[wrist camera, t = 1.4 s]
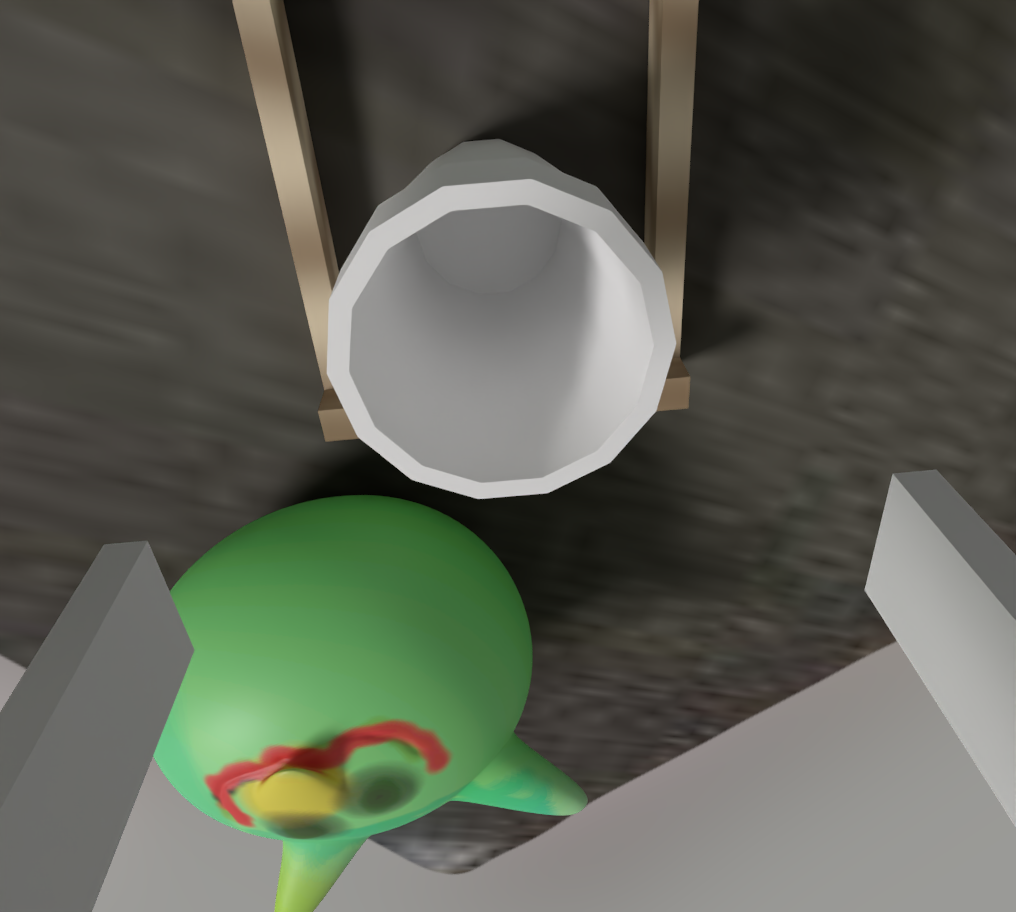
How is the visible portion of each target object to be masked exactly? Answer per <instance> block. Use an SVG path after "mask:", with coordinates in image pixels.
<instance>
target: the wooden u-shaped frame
mask: <svg viewBox="0 0 1016 912" xmlns="http://www.w3.org/2000/svg"><path fill="white" fill-rule="evenodd" d="M232 2H233V6H234V10H235V14H236V18H237V23H238V27H239V31H240V35H241V40H242V44H243V48H244V52H245V56H246V61H247V65H248V69H249V73H250V78H251V82H252V86H253V90H254V94H255V99H256V103H257V107H258V111H259V116H260V120H261V124H262V128H263V132H264V137H265V141H266V145H267V149H268V154H269V158H270V162H271V166H272V170H273V175H274V179H275V183H276V187H277V192H278V196H279V200H280V204H281V208H282V213H283V217H284V221H285V225H286V230H287V234H288V238H289V242H290V246H291V251H292V255H293V259H294V263H295V268H296V272H297V276H298V280H299V284H300V289H301V293H302V297H303V301H304V306H305V310H306V314H307V318H308V322H309V327H310V331H311V335H312V339H313V343H314V348H315V352H316V356H317V360H318V365H319V369H320V373H321V377H322V381H323V386H324V393H323V397H322V400H321V403H320V406H319V409H318V413H319V417H320V421H321V425H322V429H323V433H324V437H325V441H326V442H327V441H337V440H348V439H359V437H357V435H356V432H355V430H354V428H353V426H352V424H351V422H350V420H349V418H348V416H347V414H346V412H345V410H344V408H343V406H342V404H341V402H340V400H339V398H338V396H337V394H336V392H335V390H334V388H333V386H332V384H331V382H330V380H329V378H328V375H327V345H328V311H329V298H330V296H331V293H332V291H333V288H334V286H335V283H336V280H337V278H338V275H339V270H338V265H337V260H336V255H335V250H334V245H333V240H332V235H331V231H330V226H329V221H328V216H327V211H326V206H325V201H324V197H323V192H322V187H321V182H320V177H319V172H318V167H317V162H316V158H315V153H314V148H313V143H312V138H311V133H310V128H309V123H308V119H307V114H306V109H305V104H304V99H303V94H302V89H301V84H300V80H299V75H298V70H297V65H296V60H295V55H294V50H293V45H292V41H291V36H290V31H289V26H288V21H287V16H286V11H285V6H284V2H283V0H232ZM698 2H699V0H650V4H649V50H648V95H647V140H646V185H645V231H644V244H645V245H646V247H647V248H648V250H649V252H650V253H651V255H652V256H653V258H654V260H655V261H656V263H657V264H658V266H659V267H660V269H661V271H662V273H663V278H664V283H665V289H666V294H667V299H668V304H669V309H670V314H671V319H672V324H673V329H674V334H675V339H676V347H675V350H674V353H673V357H672V360H671V363H670V367H669V370H668V373H667V377H666V380H665V384H664V387H663V390H662V394H661V397H660V400H659V404H658V407H657V410H656V411H664V410H675V409H686V408H688V405H689V389H690V375H689V374H688V372H687V370H686V368H685V366H684V364H683V362H682V361H681V359H680V345H681V326H682V307H683V288H684V269H685V250H686V231H687V212H688V193H689V174H690V155H691V135H692V116H693V97H694V78H695V59H696V40H697V21H698Z"/></svg>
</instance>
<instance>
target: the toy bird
mask: <svg viewBox="0 0 1016 912" xmlns="http://www.w3.org/2000/svg"><path fill="white" fill-rule="evenodd" d="M170 594H171V596H172V599H173V601H174V603H175V606H176V608H177V610H178V613H179V615H180V617H181V620H182V622H183V624H184V627H185V629H186V631H187V634H188V636H189V638H190V641H191V643H192V645H193V648H194V653H193V655H192V658H191V661H190V663H189V666H188V668H187V671H186V673H185V676H184V678H183V681H182V683H181V686H180V689H179V691H178V694H177V696H176V699H175V701H174V704H173V706H172V709H171V711H170V714H169V717H168V719H167V722H166V724H165V727H164V729H163V732H162V734H161V737H160V739H159V742H158V744H157V747H156V750H155V752H154V755H153V757H154V759H155V760H156V762H157V764H158V766H159V767H160V768H161V770H162V772H163V773H164V775H165V776H166V777H167V779H168V780H169V781H170V783H171V784H172V785H173V786H174V787H175V788H176V789H177V790H178V792H179V793H180V794H182V796H183V797H184V798H186V799H187V800H188V801H189V802H190V803H191V804H193V805H194V806H195V807H196V808H198V809H199V810H200V811H202V812H203V813H205V814H206V815H208V816H210V817H212V818H213V819H215V820H217V821H219V822H221V823H223V824H225V825H227V826H230V827H232V828H235V829H237V830H240V831H243V832H246V833H250V834H253V835H257V836H261V837H266V838H271V839H277V840H283V855H282V862H281V869H280V875H279V881H278V888H277V894H276V902H275V912H313V911H314V910H315V909H316V907H317V906H318V905H319V903H320V902H321V901H322V900H323V898H324V897H325V895H326V894H327V893H328V891H329V890H330V889H331V887H332V886H333V885H334V883H335V882H336V880H337V879H338V878H339V876H340V875H341V873H342V872H343V870H344V869H345V868H346V866H347V865H348V863H349V862H350V861H351V859H352V858H353V857H354V855H355V854H356V852H357V851H358V850H359V848H360V847H361V845H362V844H363V843H364V842H365V841H366V839H367V838H368V837H369V836H370V835H373V834H377V833H380V832H384V831H387V830H390V829H393V828H396V827H399V826H401V825H404V824H406V823H409V822H411V821H413V820H416V819H418V818H420V817H422V816H424V815H426V814H428V813H429V812H431V811H433V810H435V809H437V808H438V807H440V806H441V805H443V804H445V803H446V802H448V801H465V802H472V803H479V804H484V805H490V806H496V807H501V808H507V809H513V810H519V811H525V812H531V813H538V814H547V815H572V814H576V813H578V812H580V811H581V810H583V809H584V808H585V806H586V805H587V801H588V800H587V796H586V794H585V793H584V791H583V790H582V789H581V788H580V787H579V786H578V785H577V784H576V783H575V782H574V781H573V780H572V779H571V778H570V777H568V776H567V775H566V774H565V773H563V772H562V771H561V770H560V769H558V768H557V767H556V766H554V765H553V764H552V763H550V762H549V761H548V760H546V759H545V758H543V757H542V756H541V755H539V754H538V753H537V752H535V751H534V750H533V749H531V748H530V747H529V746H528V745H526V744H525V743H524V742H523V741H522V740H520V739H519V738H518V737H517V736H516V735H515V733H514V729H515V727H516V725H517V723H518V721H519V719H520V716H521V714H522V711H523V708H524V705H525V702H526V699H527V695H528V691H529V686H530V681H531V673H532V639H531V632H530V627H529V622H528V618H527V614H526V611H525V608H524V605H523V602H522V599H521V597H520V594H519V592H518V590H517V588H516V586H515V584H514V582H513V580H512V578H511V576H510V575H509V573H508V571H507V570H506V568H505V567H504V565H503V564H502V562H501V561H500V560H499V558H498V557H497V556H496V555H495V553H494V552H493V551H492V550H491V549H490V548H489V547H488V546H487V545H486V544H485V543H484V542H483V541H482V540H481V539H480V538H479V537H478V536H477V535H475V534H474V533H473V532H472V531H470V530H469V529H468V528H466V527H465V526H464V525H462V524H461V523H459V522H457V521H456V520H454V519H452V518H451V517H449V516H447V515H445V514H443V513H441V512H439V511H437V510H434V509H432V508H430V507H427V506H424V505H421V504H418V503H415V502H412V501H408V500H404V499H399V498H393V497H387V496H376V495H347V496H336V497H328V498H322V499H316V500H311V501H307V502H303V503H299V504H296V505H292V506H289V507H286V508H283V509H280V510H277V511H275V512H272V513H270V514H268V515H265V516H263V517H261V518H259V519H257V520H255V521H253V522H251V523H249V524H247V525H245V526H244V527H242V528H240V529H238V530H237V531H235V532H234V533H232V534H231V535H229V536H228V537H226V538H225V539H223V540H222V541H220V542H219V543H218V544H216V545H215V546H214V547H213V548H211V549H210V550H209V551H208V552H206V553H205V554H204V555H203V556H202V557H201V558H200V559H199V560H197V561H196V562H195V563H194V564H193V565H192V566H191V567H190V568H189V569H188V570H187V572H186V573H185V574H184V575H183V576H182V577H181V578H180V579H179V581H178V582H177V583H176V584H175V585H174V587H173V588H172V589H171V591H170Z"/></svg>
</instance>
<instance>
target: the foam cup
mask: <svg viewBox="0 0 1016 912" xmlns="http://www.w3.org/2000/svg"><path fill="white" fill-rule="evenodd" d="M675 347H676V339H675V334H674V329H673V324H672V319H671V314H670V309H669V304H668V299H667V294H666V289H665V283H664V278H663V273H662V271H661V269H660V267H659V266H658V264H657V263H656V261H655V260H654V258H653V256H652V255H651V253H650V252H649V250H648V248H647V247H646V245H645V244H644V242H643V241H642V240H641V239H640V238H639V236H638V235H637V234H636V233H635V232H634V230H633V229H632V228H631V227H630V226H629V224H628V223H627V222H626V221H625V220H624V218H623V217H622V216H621V215H620V214H619V212H618V211H617V210H616V209H615V208H614V206H613V205H612V204H611V203H610V202H609V200H608V199H607V198H606V197H605V196H604V194H603V193H602V192H601V191H600V190H599V188H598V187H597V186H594V185H592V184H589V183H587V182H584V181H582V180H580V179H577V178H575V177H572V176H570V175H567V174H565V173H563V172H561V171H560V170H558V169H557V168H555V167H554V166H552V165H551V164H550V163H548V162H547V161H545V160H544V159H542V158H541V157H539V156H538V155H536V154H535V153H533V152H530V151H528V150H525V149H523V148H521V147H518V146H516V145H513V144H511V143H508V142H506V141H504V140H501V139H491V140H479V141H468V142H462V143H461V144H459V145H458V146H456V147H454V148H453V149H451V150H450V151H448V152H446V153H445V154H443V155H442V156H440V157H439V158H437V159H435V160H434V161H433V162H431V163H430V164H429V165H428V166H427V167H426V168H425V169H424V170H423V171H422V172H421V173H420V174H419V175H418V176H417V177H416V178H415V179H414V180H413V181H412V182H411V183H410V184H409V185H408V186H407V187H406V188H405V189H404V190H402V191H400V192H399V193H397V194H395V195H394V196H392V197H391V198H389V199H387V200H386V201H384V202H383V203H381V204H379V205H378V206H377V208H376V210H375V211H374V213H373V215H372V217H371V218H370V220H369V222H368V223H367V225H366V227H365V229H364V230H363V232H362V234H361V235H360V237H359V239H358V241H357V242H356V244H355V246H354V247H353V249H352V251H351V253H350V254H349V256H348V258H347V259H346V261H345V263H344V265H343V266H342V268H341V270H340V273H339V275H338V278H337V280H336V283H335V286H334V288H333V291H332V293H331V296H330V298H329V311H328V345H327V375H328V378H329V380H330V382H331V384H332V386H333V388H334V390H335V392H336V394H337V396H338V398H339V400H340V402H341V404H342V406H343V408H344V410H345V412H346V414H347V416H348V418H349V420H350V422H351V424H352V426H353V428H354V430H355V432H356V435H357V437H359V438H360V439H361V440H362V441H364V442H365V443H366V444H367V445H369V446H370V447H371V448H372V449H374V450H375V451H376V452H377V453H379V454H380V455H381V456H382V457H384V458H385V459H386V460H387V461H389V462H390V463H391V464H392V465H394V466H395V467H396V468H397V469H399V470H400V471H401V472H402V473H404V474H405V475H406V476H407V477H409V478H410V479H411V480H414V481H417V482H420V483H424V484H427V485H431V486H434V487H438V488H441V489H445V490H448V491H452V492H455V493H459V494H462V495H466V496H469V497H473V498H476V499H486V498H498V497H509V496H521V495H532V494H544V493H549V492H551V491H553V490H555V489H557V488H559V487H561V486H563V485H566V484H568V483H570V482H572V481H574V480H576V479H578V478H580V477H582V476H584V475H586V474H588V473H590V472H592V471H594V470H596V469H598V468H601V467H603V466H605V465H607V464H609V463H610V462H611V461H612V460H613V459H614V458H615V457H616V456H617V455H618V453H619V452H620V451H621V450H622V449H623V448H624V447H625V446H626V444H627V443H628V442H629V441H630V440H631V439H632V438H633V437H634V435H635V434H636V433H637V432H638V431H639V430H640V429H641V428H642V426H643V425H644V424H645V423H646V422H647V421H648V420H649V419H650V417H651V416H652V415H653V414H654V413H655V412H656V410H657V407H658V404H659V400H660V397H661V394H662V390H663V387H664V384H665V380H666V377H667V373H668V370H669V367H670V363H671V360H672V357H673V353H674V350H675Z"/></svg>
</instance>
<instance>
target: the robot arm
mask: <svg viewBox="0 0 1016 912" xmlns="http://www.w3.org/2000/svg"><path fill="white" fill-rule="evenodd" d="M865 591H866V593H867V594H868V596H869V598H870V599H871V601H872V602H873V604H874V605H875V607H876V609H877V610H878V612H879V613H880V615H881V616H882V618H883V620H884V621H885V623H886V624H887V626H888V627H889V629H890V631H891V632H892V634H893V635H894V637H895V638H896V640H897V642H898V643H899V645H900V646H901V648H902V649H903V651H904V652H905V654H906V655H907V657H908V659H909V660H910V662H911V663H912V665H913V666H914V668H915V670H916V671H917V673H918V674H919V676H920V678H921V679H922V681H923V682H924V684H925V685H926V687H927V689H928V690H929V692H930V693H931V695H932V696H933V698H934V700H935V701H936V703H937V704H938V706H939V707H940V709H941V711H942V712H943V714H944V715H945V717H946V718H947V720H948V722H949V723H950V725H951V726H952V728H953V729H954V731H955V733H956V734H957V736H958V737H959V739H960V740H961V742H962V744H963V745H964V747H965V748H966V750H967V751H968V753H969V755H970V756H971V758H972V759H973V761H974V762H975V764H976V766H977V767H978V769H979V770H980V772H981V773H982V775H983V777H984V778H985V780H986V781H987V783H988V784H989V786H990V788H991V789H992V790H993V792H994V794H995V795H996V797H997V798H998V800H999V801H1000V803H1001V805H1002V806H1003V808H1004V809H1005V811H1006V813H1007V814H1008V816H1009V817H1010V819H1011V820H1012V822H1013V824H1014V825H1015V827H1016V555H1015V554H1014V553H1013V552H1012V551H1011V550H1010V549H1009V548H1008V546H1007V545H1006V544H1005V543H1004V542H1003V541H1002V540H1001V539H1000V538H999V537H998V536H997V535H996V534H995V532H994V531H993V530H992V529H991V528H990V527H989V526H988V525H987V524H986V523H985V522H984V521H983V520H982V518H981V517H980V516H979V515H978V514H977V513H976V512H975V511H974V510H973V509H972V508H971V507H970V506H969V504H968V503H967V502H966V501H965V500H964V499H963V498H962V497H961V496H960V495H959V494H958V493H957V492H956V490H955V489H954V488H953V487H952V486H951V485H950V484H949V483H948V482H947V481H946V480H945V479H944V478H943V476H942V475H941V474H940V473H939V472H938V471H937V470H928V471H917V472H906V473H895V474H893V475H892V479H891V483H890V487H889V491H888V495H887V499H886V504H885V508H884V512H883V516H882V520H881V524H880V529H879V533H878V537H877V541H876V545H875V549H874V553H873V558H872V562H871V566H870V570H869V574H868V578H867V583H866V587H865ZM193 653H194V648H193V645H192V643H191V641H190V638H189V636H188V634H187V631H186V629H185V627H184V624H183V622H182V620H181V617H180V615H179V613H178V610H177V608H176V606H175V603H174V601H173V599H172V596H171V594H170V592H169V589H168V587H167V585H166V582H165V580H164V578H163V575H162V573H161V571H160V568H159V566H158V564H157V561H156V559H155V557H154V555H153V552H152V550H151V548H150V545H149V543H148V541H138V542H127V543H116V544H105V545H104V546H103V547H102V549H101V550H100V552H99V554H98V555H97V557H96V559H95V560H94V562H93V563H92V565H91V567H90V568H89V570H88V571H87V573H86V575H85V576H84V578H83V580H82V581H81V583H80V584H79V586H78V588H77V589H76V591H75V592H74V594H73V596H72V597H71V599H70V600H69V602H68V604H67V605H66V607H65V609H64V610H63V612H62V613H61V615H60V617H59V618H58V620H57V621H56V623H55V625H54V626H53V628H52V630H51V631H50V633H49V634H48V636H47V638H46V639H45V641H44V642H43V644H42V646H41V647H40V649H39V651H38V652H37V654H36V655H35V657H34V659H33V660H32V662H31V663H30V665H29V667H28V668H27V670H26V671H25V673H24V675H23V676H22V678H21V680H20V681H19V683H18V684H17V686H16V688H15V689H14V691H13V692H12V694H11V696H10V697H9V699H8V701H7V702H6V704H5V706H4V707H3V709H2V710H1V712H0V912H92V910H93V907H94V904H95V902H96V900H97V897H98V895H99V892H100V889H101V887H102V884H103V882H104V879H105V877H106V874H107V872H108V869H109V867H110V864H111V861H112V859H113V856H114V854H115V851H116V849H117V846H118V844H119V841H120V839H121V836H122V833H123V831H124V828H125V826H126V823H127V820H128V818H129V816H130V813H131V811H132V808H133V806H134V803H135V800H136V798H137V795H138V793H139V790H140V788H141V785H142V783H143V780H144V777H145V775H146V772H147V770H148V767H149V765H150V762H151V760H152V757H153V755H154V752H155V750H156V747H157V744H158V742H159V739H160V737H161V734H162V732H163V729H164V727H165V724H166V722H167V719H168V717H169V714H170V711H171V709H172V706H173V704H174V701H175V699H176V696H177V694H178V691H179V689H180V686H181V683H182V681H183V678H184V676H185V673H186V671H187V668H188V666H189V663H190V661H191V658H192V655H193Z"/></svg>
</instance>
